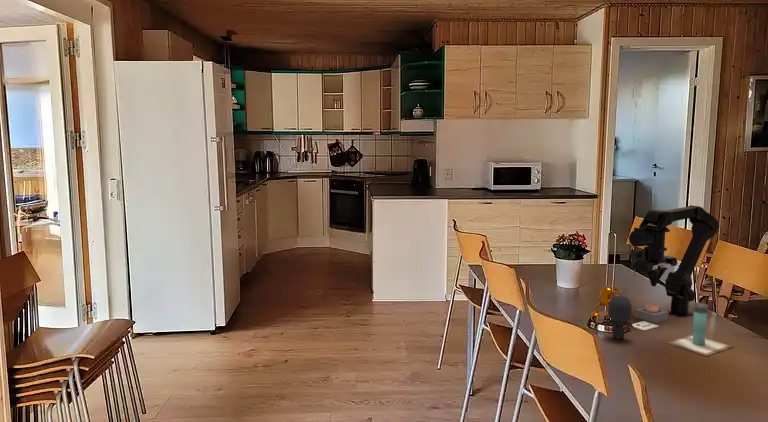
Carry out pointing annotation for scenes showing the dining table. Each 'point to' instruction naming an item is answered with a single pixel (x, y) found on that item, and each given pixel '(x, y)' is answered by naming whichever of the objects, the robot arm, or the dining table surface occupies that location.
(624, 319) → the toy
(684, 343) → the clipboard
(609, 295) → the figurine
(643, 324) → the card
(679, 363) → the dining table surface
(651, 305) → the button
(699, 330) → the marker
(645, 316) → the button box
